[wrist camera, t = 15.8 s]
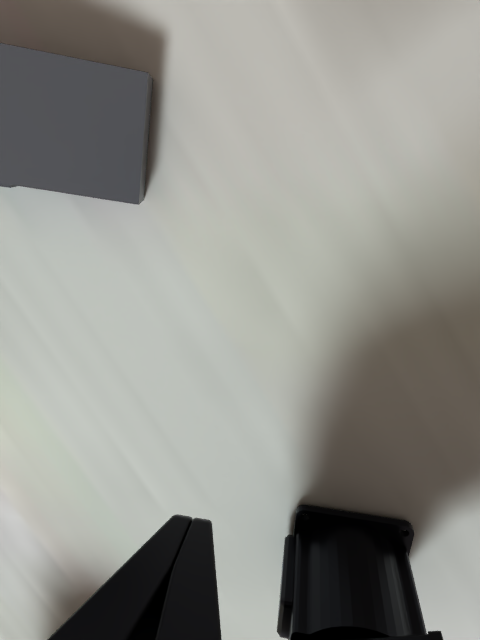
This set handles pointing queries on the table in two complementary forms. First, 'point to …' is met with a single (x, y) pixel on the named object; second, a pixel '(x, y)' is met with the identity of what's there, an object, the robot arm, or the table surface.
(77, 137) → the domino
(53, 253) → the table surface
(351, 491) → the table surface
